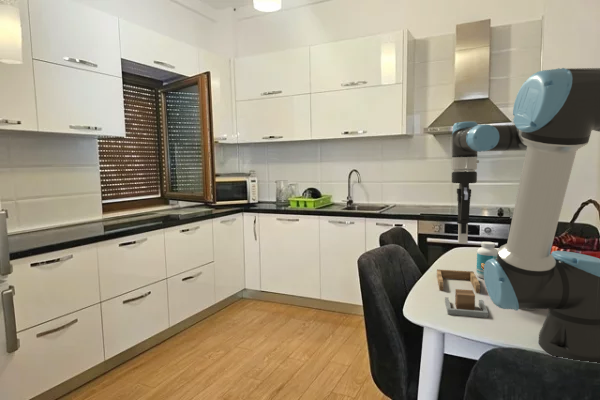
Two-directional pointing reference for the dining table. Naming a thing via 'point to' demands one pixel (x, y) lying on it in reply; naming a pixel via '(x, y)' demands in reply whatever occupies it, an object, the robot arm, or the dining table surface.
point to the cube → (465, 299)
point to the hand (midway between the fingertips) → (462, 242)
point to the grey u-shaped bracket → (467, 312)
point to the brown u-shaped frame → (458, 277)
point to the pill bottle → (485, 256)
